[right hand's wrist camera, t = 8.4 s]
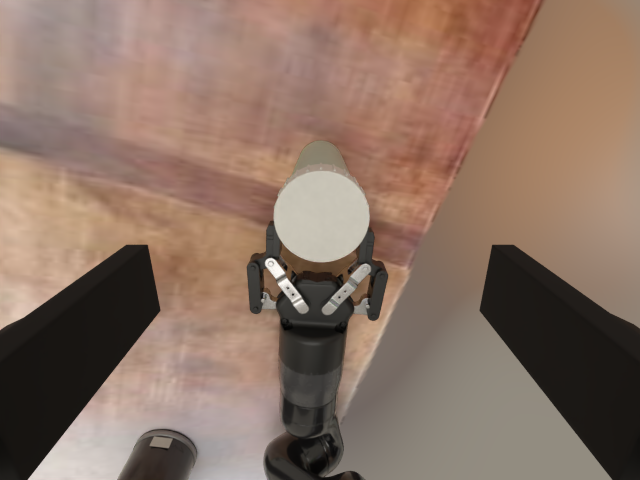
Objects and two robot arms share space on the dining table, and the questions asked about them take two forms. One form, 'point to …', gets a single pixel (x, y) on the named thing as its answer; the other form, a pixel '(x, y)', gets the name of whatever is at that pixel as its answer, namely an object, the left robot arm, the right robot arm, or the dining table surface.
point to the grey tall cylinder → (320, 155)
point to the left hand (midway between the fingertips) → (321, 220)
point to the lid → (321, 213)
